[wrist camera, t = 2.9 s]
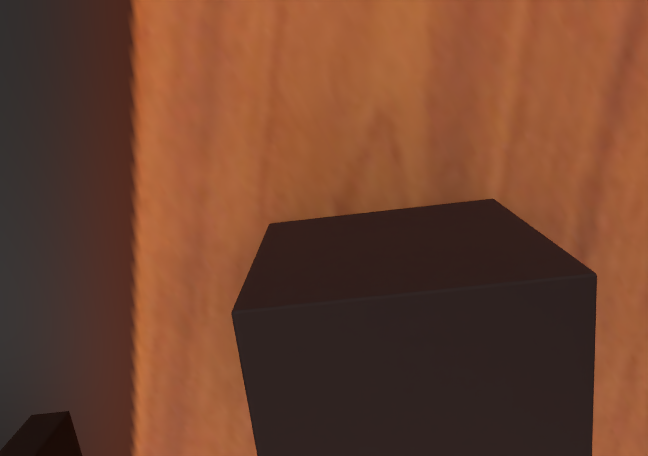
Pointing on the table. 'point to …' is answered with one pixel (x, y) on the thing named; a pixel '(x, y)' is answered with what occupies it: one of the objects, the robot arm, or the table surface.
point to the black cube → (417, 337)
